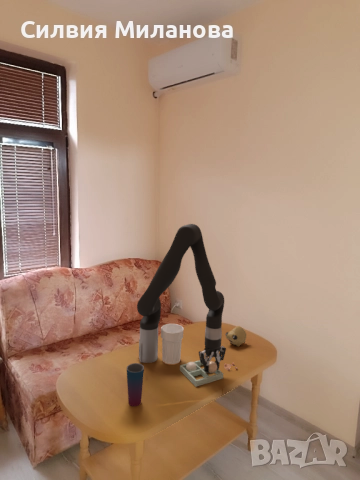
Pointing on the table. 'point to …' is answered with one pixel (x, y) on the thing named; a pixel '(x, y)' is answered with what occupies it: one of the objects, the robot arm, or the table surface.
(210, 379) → the egg tray
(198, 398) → the table surface
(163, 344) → the cup
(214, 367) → the brown egg
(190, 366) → the cream egg
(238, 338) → the yellow toy animal head
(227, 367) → the egg cup
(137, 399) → the cup
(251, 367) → the table surface
